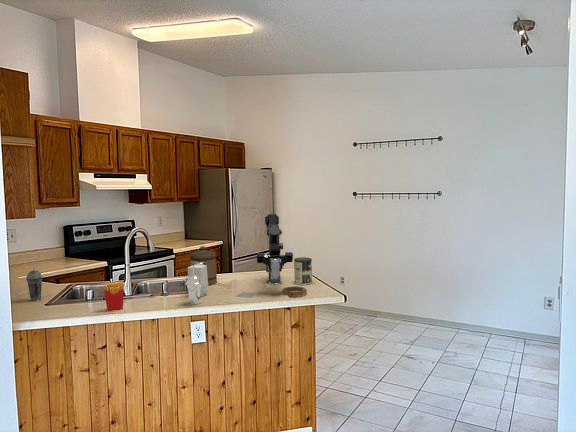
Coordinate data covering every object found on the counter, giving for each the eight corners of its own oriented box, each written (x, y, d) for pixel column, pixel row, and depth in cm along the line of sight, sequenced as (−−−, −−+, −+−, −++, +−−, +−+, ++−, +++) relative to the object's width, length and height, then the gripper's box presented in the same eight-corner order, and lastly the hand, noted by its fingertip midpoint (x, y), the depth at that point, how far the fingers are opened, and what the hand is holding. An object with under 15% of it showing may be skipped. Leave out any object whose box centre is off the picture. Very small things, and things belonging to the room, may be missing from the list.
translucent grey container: (186, 283, 256) (184, 246, 254) (206, 279, 267) (204, 243, 265) (202, 287, 246) (200, 249, 244) (222, 282, 257) (221, 245, 256)
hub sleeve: (266, 283, 225) (265, 258, 224) (276, 281, 230) (276, 256, 228) (274, 285, 220) (273, 260, 219) (285, 283, 224) (284, 258, 223)
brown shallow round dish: (279, 291, 234) (279, 287, 234) (303, 290, 237) (303, 285, 237) (285, 298, 221) (285, 293, 221) (309, 296, 224) (309, 291, 224)
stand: (242, 293, 231) (242, 292, 231) (258, 295, 228) (258, 293, 228) (234, 298, 223) (234, 296, 223) (250, 299, 219) (250, 297, 219)
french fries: (105, 311, 204) (103, 284, 202) (105, 309, 208) (104, 282, 206) (126, 309, 207) (124, 282, 205) (126, 307, 211) (124, 280, 209)
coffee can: (313, 281, 258) (312, 257, 257) (310, 285, 248) (310, 260, 247) (296, 280, 260) (295, 257, 259) (292, 284, 250) (292, 260, 249)
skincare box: (208, 294, 232) (207, 265, 230) (201, 297, 226) (200, 267, 224) (195, 292, 235) (194, 264, 234) (188, 295, 229) (187, 266, 228)
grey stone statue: (187, 301, 219) (185, 261, 218) (205, 300, 220) (204, 261, 218) (184, 305, 211) (183, 265, 209) (203, 305, 212) (202, 264, 210)
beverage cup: (27, 302, 220) (24, 263, 219) (28, 299, 227) (25, 261, 225) (43, 300, 224) (41, 262, 222) (44, 297, 230) (41, 260, 229)
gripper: (256, 237, 226) (256, 263, 216) (292, 236, 227) (294, 261, 217) (256, 250, 234) (257, 275, 224) (291, 249, 236) (293, 274, 226)
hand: (275, 271), depth 223 cm, fingers closed on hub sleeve, 5 cm apart
